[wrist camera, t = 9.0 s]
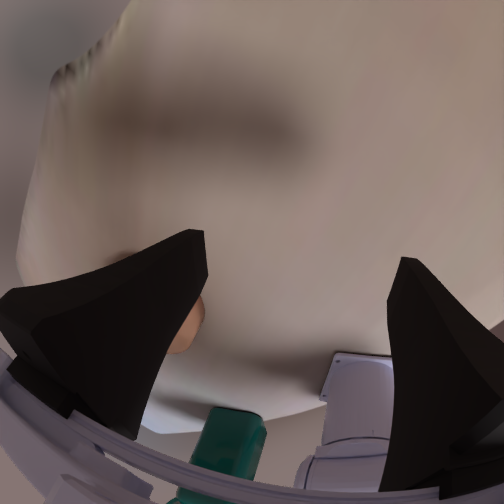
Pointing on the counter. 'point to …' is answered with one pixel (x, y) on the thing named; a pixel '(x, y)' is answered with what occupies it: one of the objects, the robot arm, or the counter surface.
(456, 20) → the counter surface
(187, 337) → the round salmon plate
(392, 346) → the robot arm
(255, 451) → the green plastic tall container
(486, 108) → the counter surface
